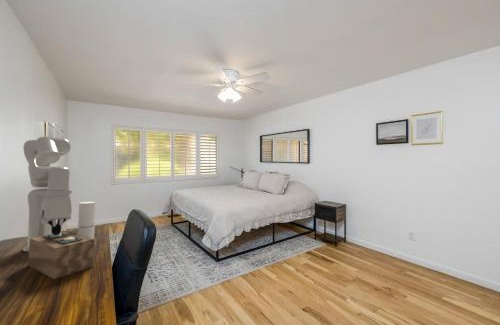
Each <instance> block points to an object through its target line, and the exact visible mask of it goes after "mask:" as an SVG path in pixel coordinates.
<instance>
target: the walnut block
mask: <svg viewBox="0 0 500 325" xmlns="http://www.w3.org/2000/svg"><path fill="white" fill-rule="evenodd" d="M60 233H61V234H62V236H57V237H52V238H51V237H50V235H51V234H50V235H44V236H39V237H34V238H30V246H29V252H28V263H27V264H28V267H30V268H32V269H34V270H36V271H37V272H39V273H42V274H43V275H44V276H46V277H49V278H51V279H52V280H57V279H59V278H63V277H66V276H68V275H71V274H74V273H78V272H80V271H83V270H86V269H90V268H92V267H94V252H95V251H94V250H95V238H94V239H93V238H89V237H86V236H82V235H79V234H78V233H75V232H71V231H69V230H67V231H66V230H65V231H61V232H60ZM69 237H74V238H75V240H73V241H69V242H63V239H65V238H69Z"/></svg>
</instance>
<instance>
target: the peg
mask: <svg viewBox="0 0 500 325" xmlns="http://www.w3.org/2000/svg"><path fill="white" fill-rule="evenodd" d="M73 240H75V238H74V237H69V238H65V239H63V242H69V241H73Z"/></svg>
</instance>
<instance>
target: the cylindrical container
mask: <svg viewBox="0 0 500 325" xmlns="http://www.w3.org/2000/svg"><path fill="white" fill-rule="evenodd" d="M78 204H79V205H78V219H77V220H78V221H77V222H78V225H77V227H78V228H77V234H79V235H82V236H86V237H89V238H93V239H94V240H95V228H96V227H95V224H96V207H97V206H96V201H81V202H79V203H78Z"/></svg>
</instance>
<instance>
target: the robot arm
mask: <svg viewBox="0 0 500 325" xmlns="http://www.w3.org/2000/svg"><path fill="white" fill-rule="evenodd" d="M22 147H23V148H22V149H23V154H24V157H25V159H26V161H27V163H28V175H29V180H30V184H31V186H32V187H33V188H35V189H33V190H30V191H29V192H28V194H27V203H28V204H27V205H28V225H27V227H28V228H27V245H26V246H24V247H23V248H22V251H24V252H26V253H29V246H30V238H34V237H39V236H44V235H50V234H53V235H57V234H58V235H59V234H60V232H62V226H63V224H64V223H66V222H67V221H69V220H71V219H72V217H71V216H72V212H73V210H72V201H71V195H72V194H73V191H72V190H70V176H71V174H70V173H71V172H70V171H71V170H70V168H68V167H66V166H51V165H52V164H55V163H57V162H58V161H59V160H60V158H61V157H62V156H64V155H67V154H68V153H69V152H70V151H71V143H70V141H69V139H66V138H64V137H53V136H40V137H38V138H37V139H30V140H26V141H25V142H24V144H23V146H22Z"/></svg>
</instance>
